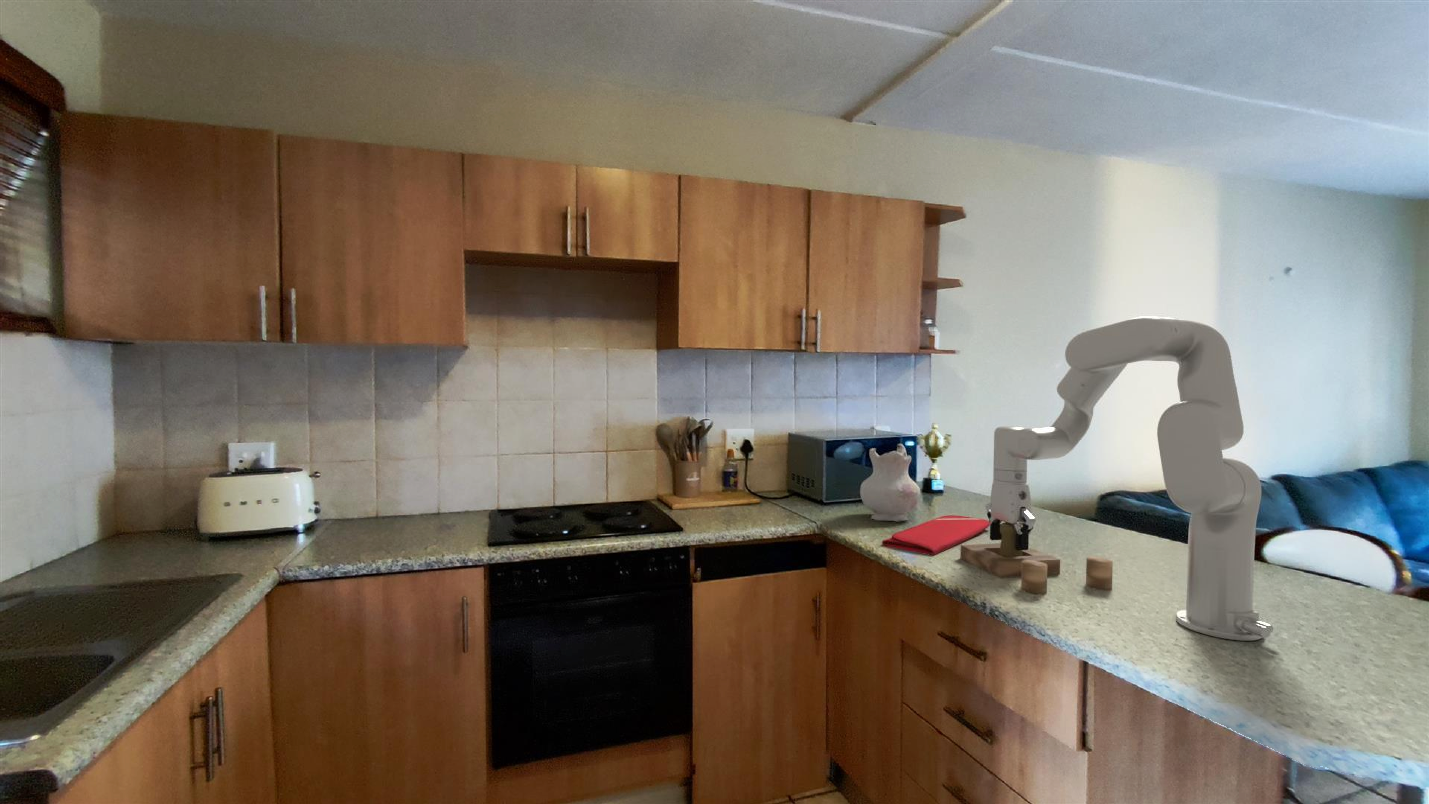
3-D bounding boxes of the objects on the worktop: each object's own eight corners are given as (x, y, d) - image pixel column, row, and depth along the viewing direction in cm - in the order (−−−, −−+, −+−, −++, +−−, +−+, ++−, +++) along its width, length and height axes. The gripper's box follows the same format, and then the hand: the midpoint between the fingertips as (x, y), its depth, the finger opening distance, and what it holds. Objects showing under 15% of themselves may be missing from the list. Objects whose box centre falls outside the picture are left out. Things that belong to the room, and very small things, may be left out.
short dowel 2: (1117, 589, 136) (1118, 562, 136) (1098, 590, 135) (1098, 563, 135) (1099, 582, 141) (1100, 556, 141) (1080, 583, 140) (1081, 557, 140)
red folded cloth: (880, 546, 173) (880, 533, 173) (943, 523, 202) (943, 512, 202) (934, 557, 162) (934, 543, 162) (992, 531, 192) (992, 520, 191)
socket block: (1059, 573, 147) (1060, 559, 147) (999, 577, 144) (1000, 562, 144) (1015, 555, 163) (1015, 542, 163) (960, 558, 160) (960, 545, 160)
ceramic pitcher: (870, 512, 223) (865, 443, 223) (926, 513, 214) (921, 441, 214) (856, 524, 203) (851, 449, 203) (917, 526, 195) (912, 447, 195)
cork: (1027, 571, 149) (1027, 526, 149) (1000, 569, 150) (1000, 524, 150) (1020, 564, 155) (1021, 521, 155) (994, 562, 156) (995, 519, 156)
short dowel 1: (1052, 593, 133) (1052, 566, 133) (1031, 595, 132) (1032, 567, 132) (1035, 586, 138) (1036, 559, 138) (1016, 587, 137) (1016, 560, 137)
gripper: (1048, 481, 145) (1046, 553, 146) (1001, 471, 162) (999, 535, 163) (1019, 482, 144) (1018, 555, 144) (975, 471, 161) (974, 536, 161)
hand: (1008, 544), depth 153 cm, fingers open, 9 cm apart
